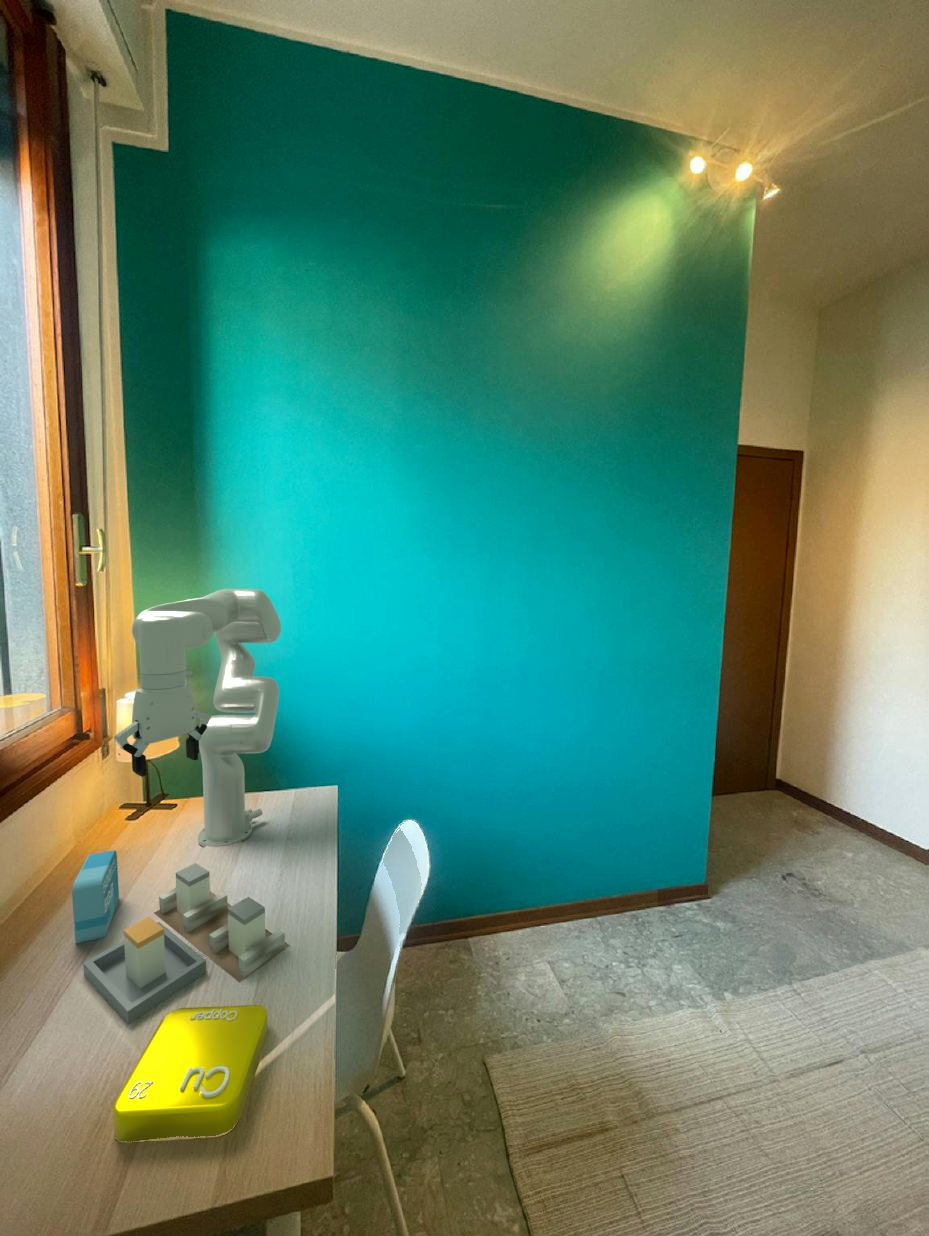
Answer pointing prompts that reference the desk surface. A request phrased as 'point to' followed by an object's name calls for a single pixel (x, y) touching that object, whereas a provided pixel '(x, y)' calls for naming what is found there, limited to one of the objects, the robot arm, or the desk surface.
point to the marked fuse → (144, 952)
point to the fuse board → (218, 934)
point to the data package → (95, 896)
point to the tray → (135, 1001)
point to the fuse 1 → (192, 887)
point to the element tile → (192, 1074)
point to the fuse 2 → (245, 925)
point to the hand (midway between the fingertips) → (167, 766)
